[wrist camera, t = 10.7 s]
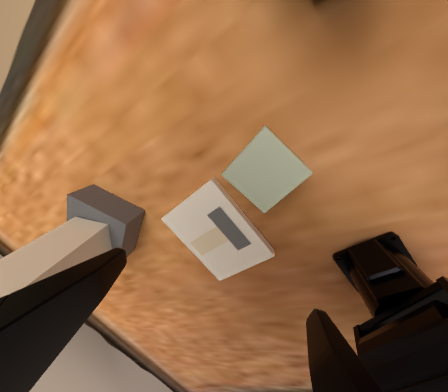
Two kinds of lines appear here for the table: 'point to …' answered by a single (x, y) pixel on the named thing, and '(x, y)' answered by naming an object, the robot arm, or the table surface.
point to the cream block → (53, 253)
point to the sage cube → (266, 170)
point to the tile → (218, 231)
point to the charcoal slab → (108, 214)
